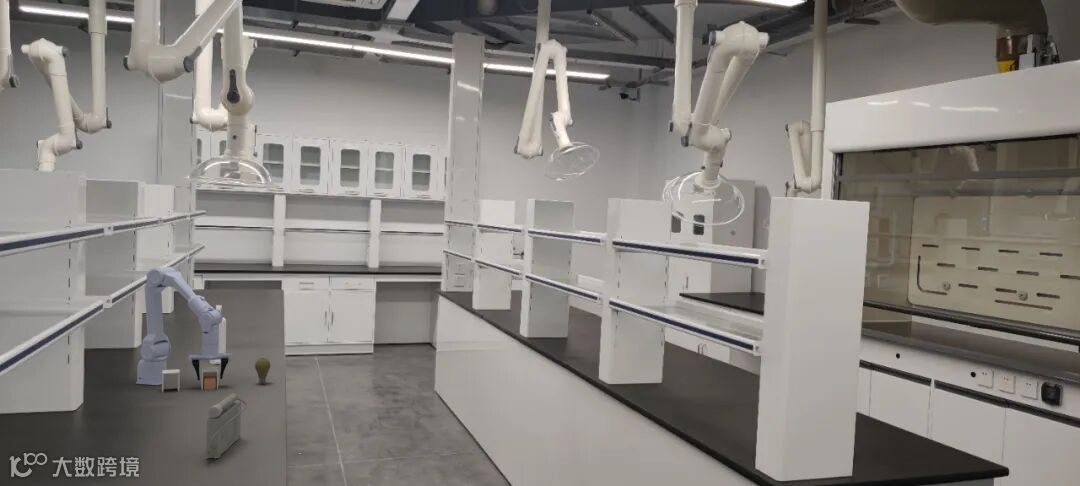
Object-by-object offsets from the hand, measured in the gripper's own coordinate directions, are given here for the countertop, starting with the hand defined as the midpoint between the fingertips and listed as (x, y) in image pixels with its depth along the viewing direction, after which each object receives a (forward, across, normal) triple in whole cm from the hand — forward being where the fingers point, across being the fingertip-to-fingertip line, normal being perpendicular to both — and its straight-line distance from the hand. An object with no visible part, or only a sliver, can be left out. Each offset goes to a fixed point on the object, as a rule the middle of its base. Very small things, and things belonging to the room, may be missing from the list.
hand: (210, 379), depth 279 cm
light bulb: (+3, +18, +1) cm, 19 cm away
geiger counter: (+4, +2, -78) cm, 78 cm away
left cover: (+3, -13, 0) cm, 13 cm away
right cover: (+3, 0, 0) cm, 3 cm away
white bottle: (+3, +4, +47) cm, 48 cm away
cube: (+3, 0, 0) cm, 3 cm away
